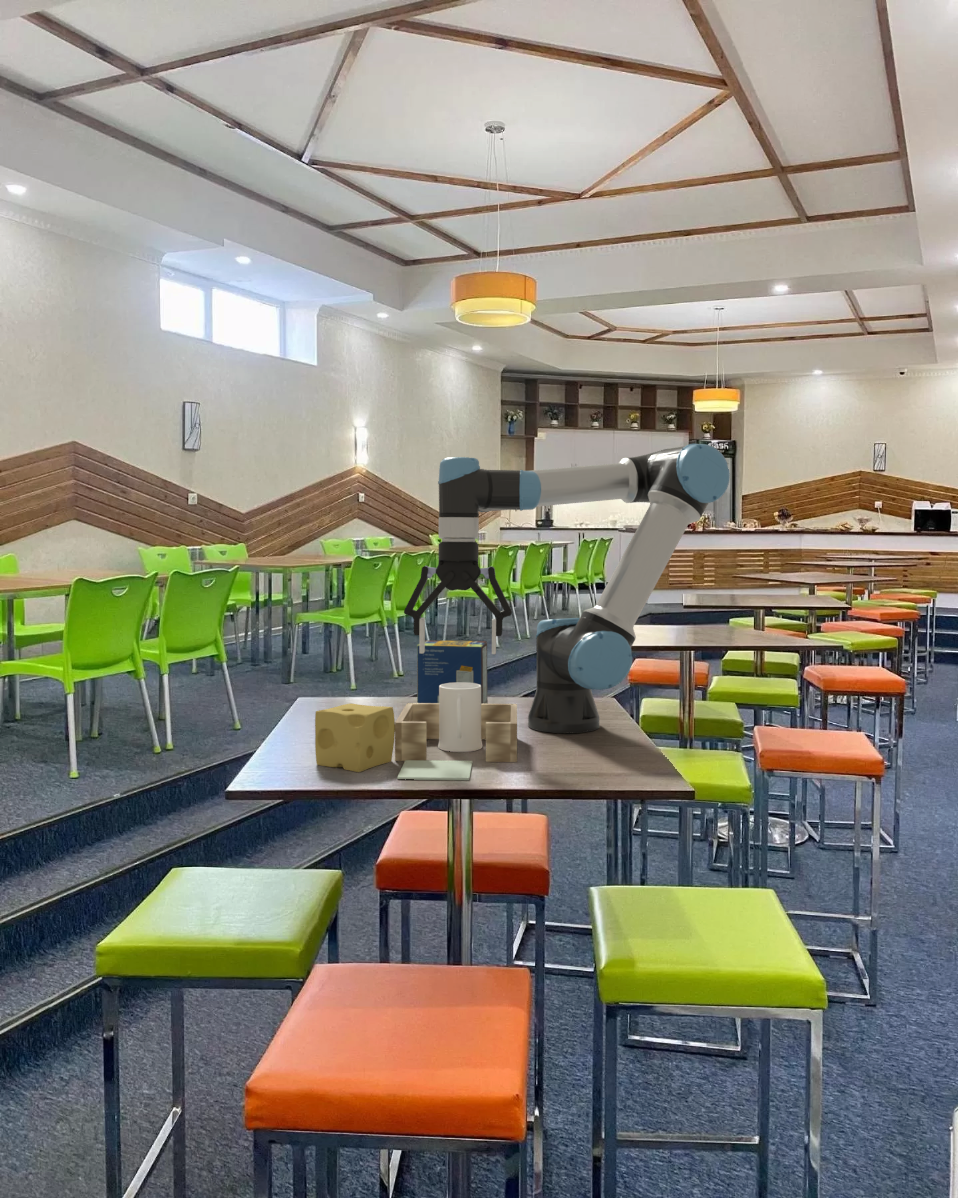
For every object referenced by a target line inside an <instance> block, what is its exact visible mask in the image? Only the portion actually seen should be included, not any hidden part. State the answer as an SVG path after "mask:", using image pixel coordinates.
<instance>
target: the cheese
mask: <svg viewBox="0 0 958 1198" xmlns="http://www.w3.org/2000/svg"><path fill="white" fill-rule="evenodd" d="M314 716H315V719H314V731H315V735H314V739H315V740H314V745H315V747H314V748H315V749H314V751H315V759H316V760H315V762H316V765H317V766H320V767H321V766H322V767H328V768H329V767H330V768H343V770H346V771H350V772H355V773H361V772H364V771H366V770H369V769H371V768H375V767H377V766H381V765H383V764H387V763H391V762H392V760H393V751H394V747H395V722H396V720H395V712H394V707H393V706H381V705H380V706H379V705H378V706H377V705H366V704H365V705H363V704H358V703H345V704H340V705H338V706H334V707H331V708H326V709H325V708H324V709H321V710H316V711H315V715H314Z"/></svg>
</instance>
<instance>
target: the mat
mask: <svg viewBox="0 0 958 1198" xmlns="http://www.w3.org/2000/svg"><path fill="white" fill-rule="evenodd" d="M403 762H404V763H403V765H402V767H401V769H400V771H399V772H398V775H397V777H396V779H405V780H406V779H414V780H415V781H417V780H418V781H470V777H471V773H472V772H471V771H472V767H473V760H428V759H427V760H405V761H403ZM406 781H407V780H406Z"/></svg>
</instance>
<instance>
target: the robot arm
mask: <svg viewBox="0 0 958 1198" xmlns="http://www.w3.org/2000/svg"><path fill="white" fill-rule="evenodd" d="M728 466H729V465H728V462H727V459H726V457H725V456H724V455H723V454H722V452H721V451H719V449H717V448H715V446H712V445H709V444H705V443H689V444H687V445H684V446H680V447H679V446H677V447H672V448H664V449H660V450H657V451H654V452H651V453H650V452H649V453H647V454H644V455H643V454H642V455H638V456H632V457H623V458H621V460H619V461H618V462H617V463H606V464H605V463H604V464H594V465H584V466H583V465H582V466H569V467H557V468H547V469H546V468H545V469H533V470H523V469H516V470H514V469H484V468H481V465H480V461H479V459H478V458H475V457H469V456H468V457H465V456H461V457H460V456H453V457H451V456H450V457H445V458H443V459H442V460H441V461H440V462H439V468H438V469H439V470H438V481H437V485H438V538H439V540H440V539H441V541H439V543H438V565H437V566H436V567H430V566H428V565H424V566H422V567H421V570H420V571H421V572H420V579H419V580H418V582H417V585H416V586H415V587H414V590H413V592H412V595H411V596H410V598H409V601H408V602H407V604H406V607H405V608H404V611H403V613H404V615H407V616H409V617H411V618H412V619H413V635H414V636H419V640H418V642H419V643H418V644H419V653H421V654H423V653H424V652H425V640H426V631H425V630H426V618H425V617H422V615H424V613H425V612H426V610H428V608H429V607H430V606H431V605H432V604H433V602H434V601H435V600H436V599H437V597H438V596H439V595H440V594H442V592H443V591H444V590H445V588H446V590H449V591H457V590H459V591H467V590H470V589H471V590H472V591H473V592H474V593H475V594H476V596H477V597H478V598H479V599H480V600H481V602H482V603H483V604H484V605H485V607H486V608H487V609H488V610H489V611H490V613H492V614H493V616H494V617H495V618H492V619H491V655H496V654H497V637H502V635H503V621H504V618H506V617H510V616H511V615H512V613H513V611H512V608H511V606H510V604H509V602H508V601H507V598H506V597H505V594H504V592H503V590H502V587H501V586H500V584H499V581H498V580H497V578H496V577H497V576H496V568H495V567H494V566H492V565H491V566H489V567H482V568H480V566H479V565H480V563H479V547H480V545H479V543H478V542H477V540H478V539H479V537H480V536H479V533H480V531H479V528H480V523H479V521H480V519H479V517H480V513H488V512H495V511H527V510H529V511H531V510H534V509H536V508H537V507H545V506H546V507H548V506H557V505H558V506H559V505H567V504H579V503H591V502H601V501H604V502H605V501H613V500H622V502H624V503H626V504H632V503H650V504H649V506H648V508H647V510H646V512H645V514H644V515H643V517H642V519H641V521H640V523H639V525H638V526H637V528H636V529H635V530H636V531H635V532H634V534H633V536H632V537H631V539H630V541H629V543H628V545H627V546H626V549H625V551H624V553H623V554H622V556H621V557H620V560H619V561H618V563H617V566H616V567H615V569H614V571H613V572H612V574H611V576H610V579H609V580H608V582H607V584H606V586H605V588H604V589H603V591H602V593H601V595H600V596H599V599H598V600H597V602H596V604H595V606H593V607H591V608H586V609H584V610H583V612H582V613H581V615H580V617H572V618H571V617H570V618H568V617H567V618H552V619H542V620H540V621H539V622H538V623H537V626H536V635H535V640H536V642H535V643H536V644H535V645H536V688H535V689H536V691H535V694H534V697H533V701H532V703H531V707H530V709H529V712H528V716H527V719H528V720H527V721H528V722H527V726H528V727H529V728H530V729H532V730H535V731H540V732H546V733H555V734H581V733H588V732H594V731H596V730H598V729H599V728H600V719H601V718H600V714H599V710H598V708H597V705H596V701H595V698H594V695H593V692H592V691H593V690H596V691H604V690H609V689H611V688H614V687H616V686H618V685H619V684H621V683H622V681H624V680H625V679H626V677H627V676H628V674H629V672H630V670H631V668H632V664H633V655H632V651H633V650H632V647H633V644H634V642H635V641H636V639H637V637H636V634H635V633H636V632H635V630H634V628H635V624H636V623H637V621H638V618H639V617H640V615H641V613H642V611H643V609H644V607H645V606H646V604H647V602H648V600H649V598H650V596H651V594H652V592H653V591H654V589H655V587H656V585H657V583H658V581H659V580H660V578H661V576H662V574H663V573H664V571H665V568H666V567H667V566H668V563H669V561H670V559H671V557H672V555H673V554H674V552H675V550H676V548H677V547H678V544H679V543H680V541H681V539H682V537H683V535H684V533H685V532H686V529H687V528H688V525H690V524H693V523H696V522H698V521H700V520H701V518H702V515H704V512H705V511H706V508H707V506H708V505H709V503H710V504H711V503H714V502H715V501H717V500H719V499H720V498H722V496H723V495H724V494H725V493H726V491H727V490H728V487H729V483H730V480H731V479H730V475H731V472H730V468H729V467H728ZM433 575H436V576H437V578H438V579H439V580H440V582H439V583H438V585H437V586H436V587H435V588H434V589H433V590H432V592H431V593H430V594H429V595H428V597H427V598H426V599H425V600H424V601H423V602H422V603H421V605H420V606H419V607H418V608H417V610H416V609H414V608H415V606H416V604H417V602H418V600H419V598H420V596H421V594H422V592H423V591H424V590H423V589H424V588H425V586H426V584H427V582H428V580H429V579H431V578H432V577H433ZM481 575H483V576H484V578H485V579H487V580H489V582H490V585H491V587H492V589H493V591H494V594H495V595H496V597H497V599H498V601H499V603H500V606H501V607H502V609H503V610H501V611H500V609H499V608H498V606H496V604H495V603H494V602H493V601H492V599H491V598H490V597H489V596H488V595H487V593H486V592H485V591H484V590H483V589H482V587H481V586H480V585H479V584H478V582H476V581H477V580H478V578H479V577H480V576H481Z"/></svg>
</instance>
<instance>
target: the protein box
mask: <svg viewBox="0 0 958 1198" xmlns="http://www.w3.org/2000/svg"><path fill="white" fill-rule="evenodd" d="M416 648H417V649H416V659H417V660H416V664H417V665H416V670H417V671H416V674H417V679H416V680H417V681H416V682H417V683H416V684H417V686H416V687H417V688H416V691H417V692H416V694H417V695H416V703H439V685H441V684H445V683H456V682H465V683H476V684H479V685H481V704H489V702H488V642H487V641H486V640H428V639H427V640H426V639H425V652H424V653H423V654H421V653H419V643H418V644H416Z"/></svg>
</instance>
